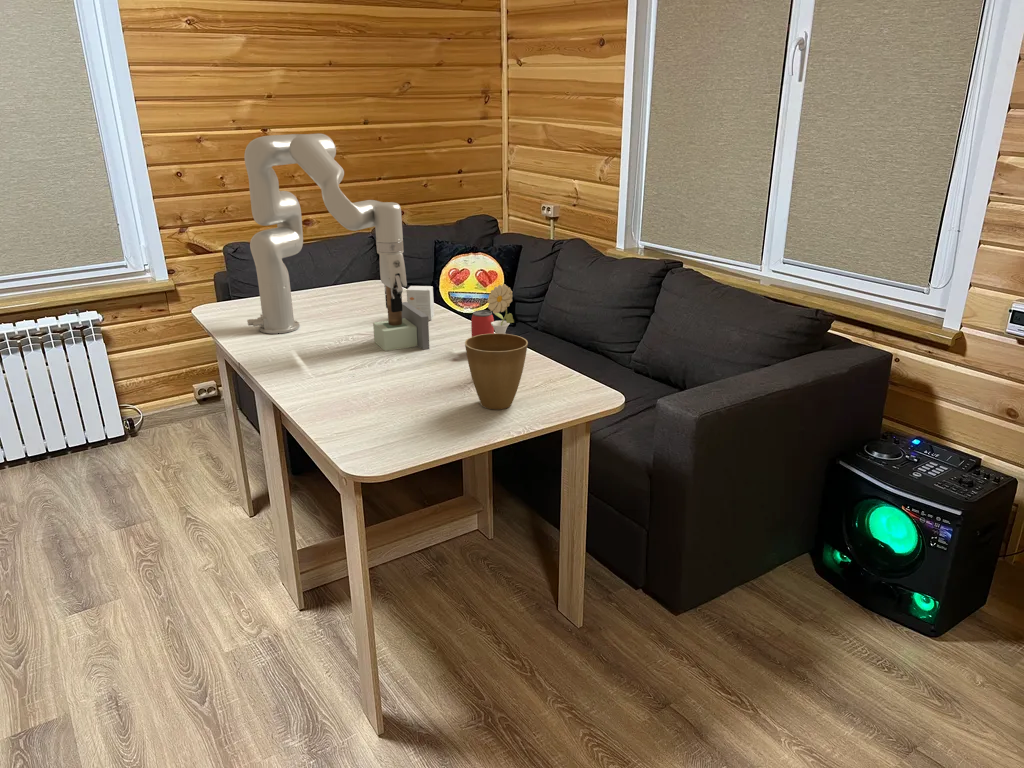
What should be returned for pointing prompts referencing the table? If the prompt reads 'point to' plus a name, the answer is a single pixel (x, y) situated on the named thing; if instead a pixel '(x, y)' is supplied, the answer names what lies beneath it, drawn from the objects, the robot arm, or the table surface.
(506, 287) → the flower in vase
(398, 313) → the walnut dowel
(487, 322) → the beer can
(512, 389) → the plant pot
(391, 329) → the sage block
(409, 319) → the board
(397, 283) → the robot arm
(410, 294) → the small box
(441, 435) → the table surface
